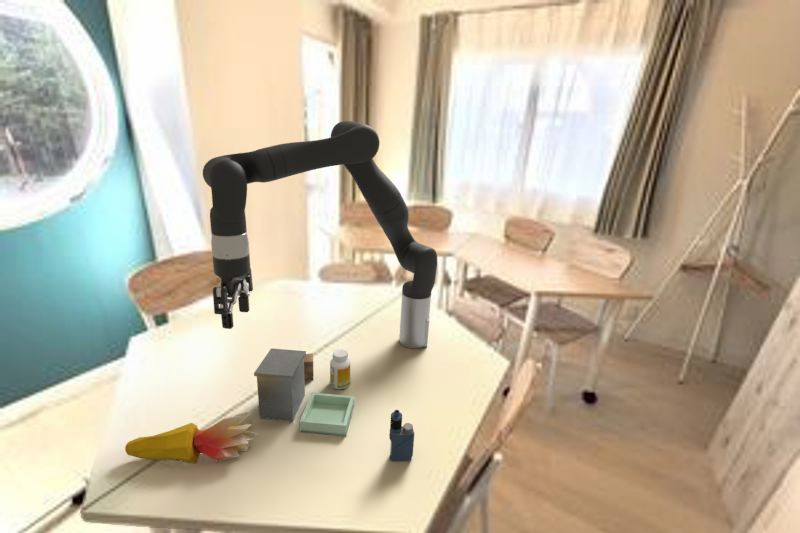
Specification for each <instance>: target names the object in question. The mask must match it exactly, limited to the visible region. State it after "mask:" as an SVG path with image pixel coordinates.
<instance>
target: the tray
mask: <svg viewBox="0 0 800 533" xmlns="http://www.w3.org/2000/svg"><path fill="white" fill-rule="evenodd" d="M354 408H355V396H354V395H345V394H333V393H321V392H311V394H310V396H309V400H308V401H307V404H306V406H305V408H304V411H303V413H302V415H301V418H300V420H299V432H300V433H305V434H317V435H329V436H337V437H339V436H340V437H347V435H348V430H349V426H350V423H351V419H352V416H353V411H354Z"/></svg>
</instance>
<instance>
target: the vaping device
mask: <svg viewBox="0 0 800 533" xmlns="http://www.w3.org/2000/svg"><path fill="white" fill-rule="evenodd" d="M389 423H390V426H389V435H388V436H389V440H390V449H389V450H390V451H389V460H390V461H391V462H409V461H410V460H412V458H413V456H414V442H415V431H414V426H413V424H412V423H409V422H406V423H404V424H403V426H402V423H403V414H402V413H401V412H400V410H399V409H395V410H394V411H393V412H391V414H390V422H389Z"/></svg>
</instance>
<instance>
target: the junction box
mask: <svg viewBox="0 0 800 533" xmlns="http://www.w3.org/2000/svg"><path fill="white" fill-rule="evenodd" d="M306 354H307V352H306V350H295V349H294V350H293V349H284V348H283V349H282V348H270V350H269V351H268V353H267V354H266V355H265V356H264V358H263V360H262V361H261V362H260V363H259V365H258V366H257V368H256V369H255V370H254V372H253V376H254V377H256V383H257V399H258V412H259V419H262V420H263V419H264V420H276V421H284V422H294V420H295V419H296V416H297V414H298V411H299V409H300V407H301V406H302V405H301V404H302V403H303V400H304V398H305V395H306V384H305V383H306V381H305V377H304V357H305V355H306Z"/></svg>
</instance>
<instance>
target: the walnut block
mask: <svg viewBox="0 0 800 533" xmlns="http://www.w3.org/2000/svg"><path fill="white" fill-rule="evenodd" d="M304 377H305V382H308V381H309V382H310V381H314V353H306V355H305V357H304Z"/></svg>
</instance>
